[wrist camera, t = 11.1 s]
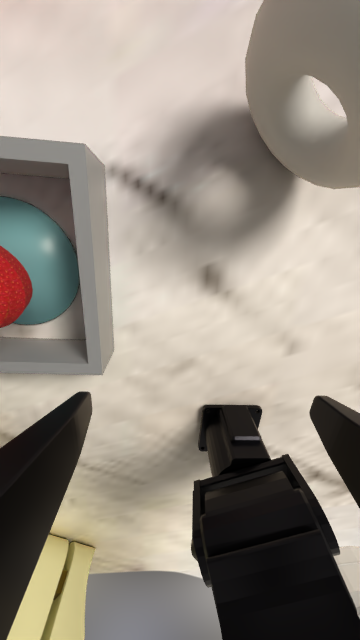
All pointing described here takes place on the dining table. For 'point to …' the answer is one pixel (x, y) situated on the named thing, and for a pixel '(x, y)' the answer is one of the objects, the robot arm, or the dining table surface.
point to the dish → (350, 571)
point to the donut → (307, 87)
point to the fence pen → (59, 259)
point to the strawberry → (13, 288)
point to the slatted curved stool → (55, 594)
